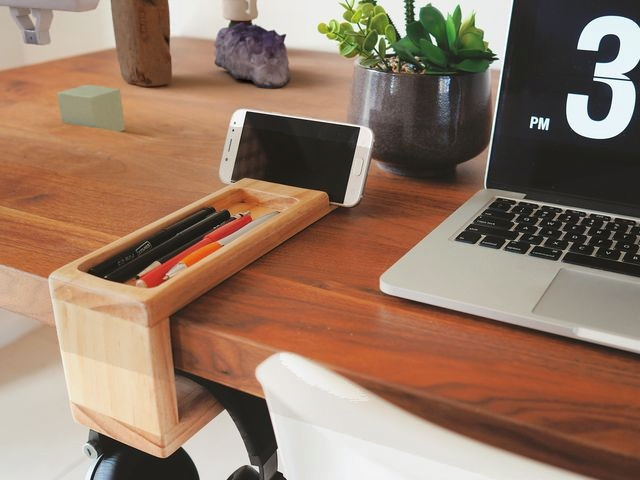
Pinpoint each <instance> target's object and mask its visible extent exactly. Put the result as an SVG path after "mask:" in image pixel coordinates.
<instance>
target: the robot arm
mask: <svg viewBox="0 0 640 480" xmlns="http://www.w3.org/2000/svg"><path fill="white" fill-rule="evenodd" d="M99 3H100V0H0V7H8V8H9V13H10V16H11V19H13V21H14V22H15V24H16V26H17V27H18V28H19V30H20V31H21V35H22V40H23V43H24V44H26V45H36V46H46V45H50V44H51V36H50V29H51V26H52V22H53V19H54V11H59V12H68V13H69V12H71V13H83V12H90V11H94V10H96V9H97V7H98V5H99ZM30 15H31V16H32V17H33V18H34V19H35V18H36V19H35V24H34V22H33V21H32V19H31V17H30Z"/></svg>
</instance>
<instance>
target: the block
mask: <svg viewBox="0 0 640 480" xmlns="http://www.w3.org/2000/svg"><path fill="white" fill-rule="evenodd" d="M110 9H111V19H112V20H111V21H112V26H113V35H114V42H115V50H116V56H117V57H116V58H117V61H118V64H119V65H118V66H119V71H120V75H121V78H122V79H123V80H124V81H125V82H127V83H129V84H131V85H136V86H140V87H159V86H165V85H167V84H169V83H170V82H172V79H173V64H172V55H171V14H170V4H169V0H110Z"/></svg>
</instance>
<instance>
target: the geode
mask: <svg viewBox="0 0 640 480" xmlns="http://www.w3.org/2000/svg"><path fill="white" fill-rule="evenodd" d="M286 37H287V33H283V34H279V33H278V32H277V31H276V30H275V29H271V30H267V29H265V28H263V27H262V26H261V25H258V24H257V23H256V24H255V23H254V24H253V25H252V26H247V25H245V23H244V22H242V23H239V24H237V25H235V26H234V27H232V28H228V26H227V27H222V28H220V29H219V30H218V32H217V34H216V37H215V41H214V43H213V45H214V48H215V49H214V65H215V67H216V66H217V68H222V69H223V70H226V72H227V74H229V75H230V76H231V77H232V78H233V79H234V80H245V81H252V82H253V84H254V85H255V86H256V87H257V88H262V89H278V88H283V87H285V86H286V85H287V84H288V83H289V82H290V81H291V73H290V66H289V65H290V60H289V56H288V51H287V47H286V46H287V45H286V44H285V40H286Z"/></svg>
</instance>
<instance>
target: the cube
mask: <svg viewBox="0 0 640 480" xmlns="http://www.w3.org/2000/svg"><path fill="white" fill-rule="evenodd" d="M56 97H57V102H58V107H59V113H60V120H61V123H62V124H67V125H75V126H81V127H88V128H92V129H93V128H94V129H100V130H106V131H110V132H111V131H112V132H118V133H121V132H123V131H126V125H125V118H124V110H123V102H122V94H121V89H120V88H115V87H107V86H102V85H101V86H100V85H99V86H98V85H93V84H84V85H81V86H77V87H74V88H73V87H72V88H69V89H66V90H62V91H58V92H56Z"/></svg>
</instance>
